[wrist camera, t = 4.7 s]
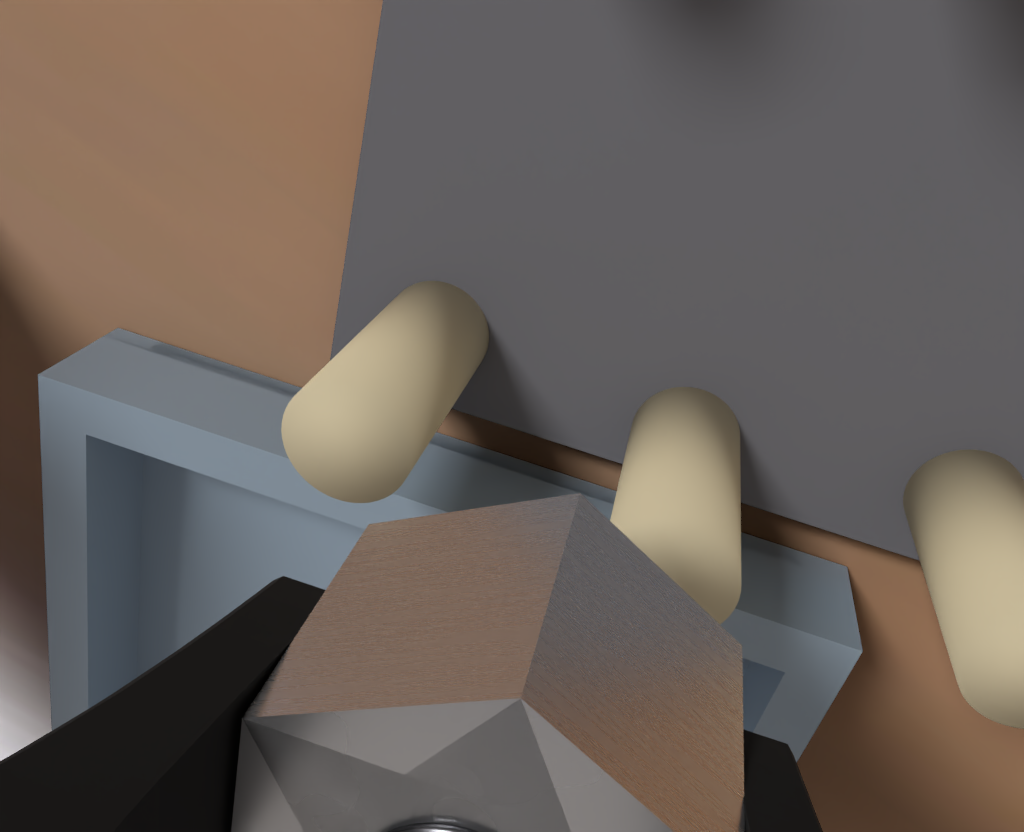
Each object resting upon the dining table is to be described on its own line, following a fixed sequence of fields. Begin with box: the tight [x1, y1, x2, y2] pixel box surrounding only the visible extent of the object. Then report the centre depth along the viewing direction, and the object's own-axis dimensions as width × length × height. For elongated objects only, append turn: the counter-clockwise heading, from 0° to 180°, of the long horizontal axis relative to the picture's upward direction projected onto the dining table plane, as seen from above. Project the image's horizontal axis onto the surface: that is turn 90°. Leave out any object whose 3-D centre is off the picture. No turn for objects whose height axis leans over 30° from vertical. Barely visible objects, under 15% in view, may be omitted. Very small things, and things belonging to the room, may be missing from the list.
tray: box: [38, 328, 863, 763], centre depth 21 cm, size 16×14×2 cm
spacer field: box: [281, 0, 1024, 729], centre depth 12 cm, size 14×13×5 cm
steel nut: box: [231, 493, 745, 832], centre depth 9 cm, size 4×5×3 cm
